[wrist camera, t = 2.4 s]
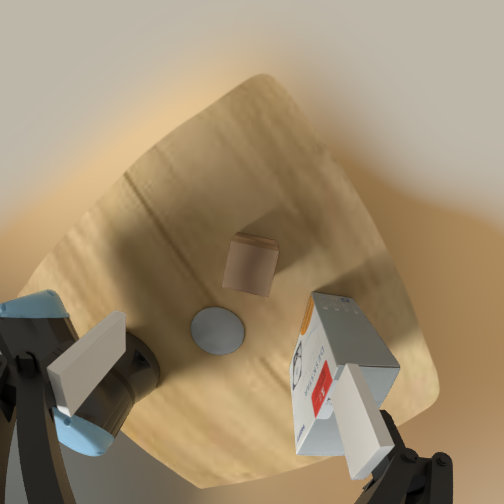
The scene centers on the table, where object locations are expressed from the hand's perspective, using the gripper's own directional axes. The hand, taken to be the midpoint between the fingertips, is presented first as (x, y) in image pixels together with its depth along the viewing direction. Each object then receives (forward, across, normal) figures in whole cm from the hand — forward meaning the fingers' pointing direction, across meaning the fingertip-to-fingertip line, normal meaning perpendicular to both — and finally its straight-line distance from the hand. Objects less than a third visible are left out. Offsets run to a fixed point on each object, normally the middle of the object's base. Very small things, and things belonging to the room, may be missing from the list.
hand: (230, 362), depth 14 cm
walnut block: (+28, 0, 0) cm, 28 cm away
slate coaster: (+28, -3, -14) cm, 32 cm away
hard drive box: (+28, +14, -11) cm, 33 cm away
